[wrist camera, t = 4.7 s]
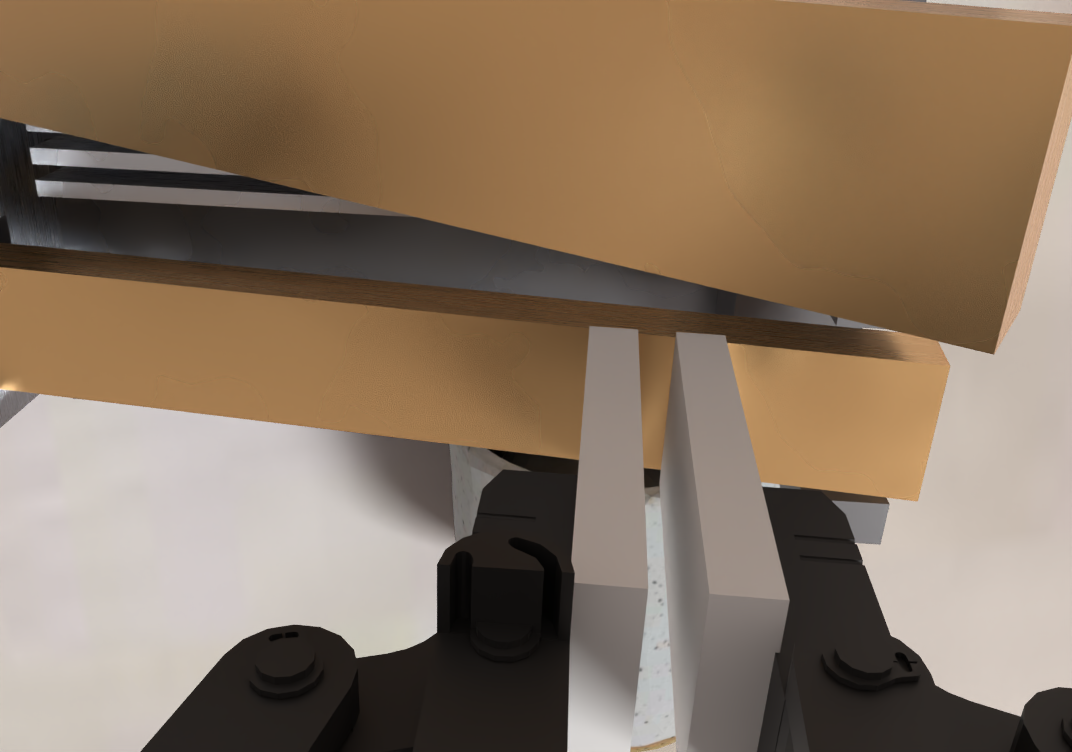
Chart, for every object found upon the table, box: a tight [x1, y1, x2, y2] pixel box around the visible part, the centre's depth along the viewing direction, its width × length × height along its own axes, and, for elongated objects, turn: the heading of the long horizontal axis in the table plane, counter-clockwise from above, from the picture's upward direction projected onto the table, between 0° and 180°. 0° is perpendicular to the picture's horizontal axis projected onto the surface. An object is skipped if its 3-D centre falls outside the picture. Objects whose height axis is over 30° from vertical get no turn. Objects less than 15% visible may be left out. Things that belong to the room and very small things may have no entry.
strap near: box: [0, 0, 1072, 354], centre depth 12 cm, size 19×2×2 cm, turn 87°
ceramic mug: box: [449, 444, 780, 752], centre depth 24 cm, size 11×8×8 cm
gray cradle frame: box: [0, 118, 719, 428], centre depth 20 cm, size 20×10×9 cm, turn 87°
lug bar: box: [716, 0, 926, 544], centre depth 17 cm, size 2×10×5 cm, turn 178°
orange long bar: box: [0, 242, 950, 501], centre depth 17 cm, size 19×2×2 cm, turn 87°
